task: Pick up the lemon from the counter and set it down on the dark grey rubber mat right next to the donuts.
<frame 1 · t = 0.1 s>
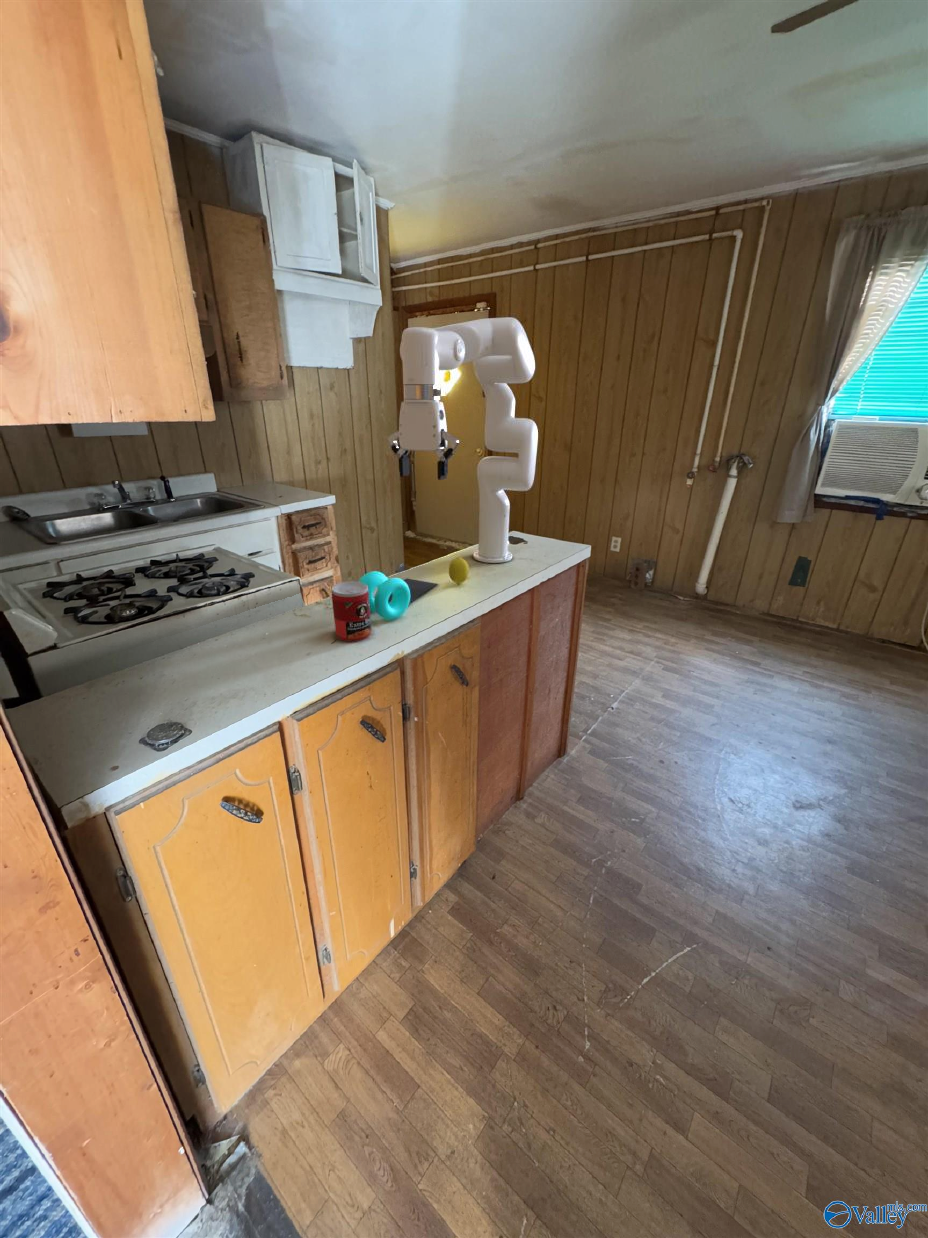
hand: (423, 477, 114), 31 cm above the worktop, tool pointing down, fingers open, 9 cm apart
lemon: (458, 585, 140), on the worktop
canned food: (353, 635, 110), on the worktop
donuts: (384, 615, 120), on the worktop
mat: (405, 592, 134), on the worktop
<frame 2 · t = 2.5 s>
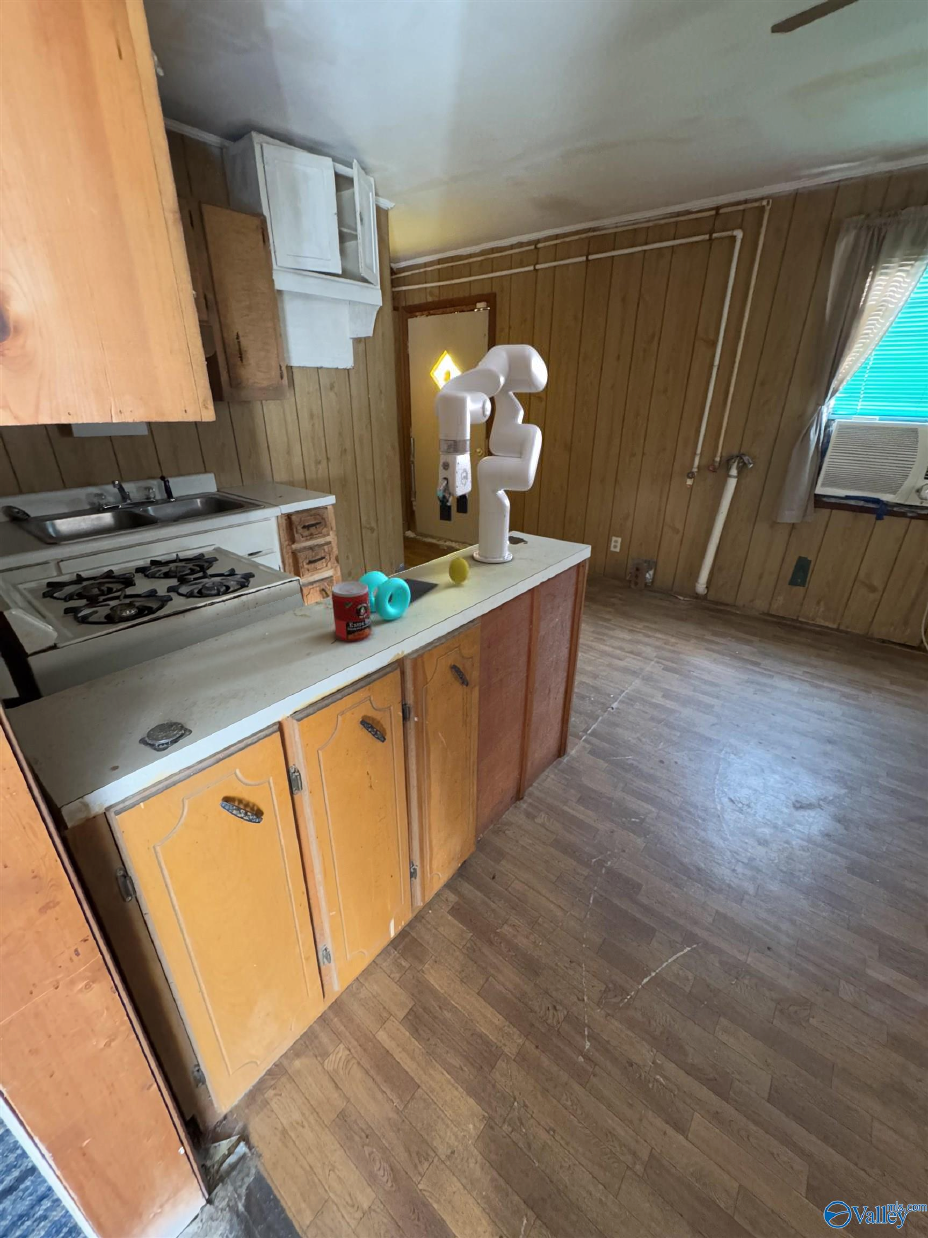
hand: (454, 516, 130), 20 cm above the worktop, tool pointing down, fingers open, 9 cm apart
nothing on the worktop moved.
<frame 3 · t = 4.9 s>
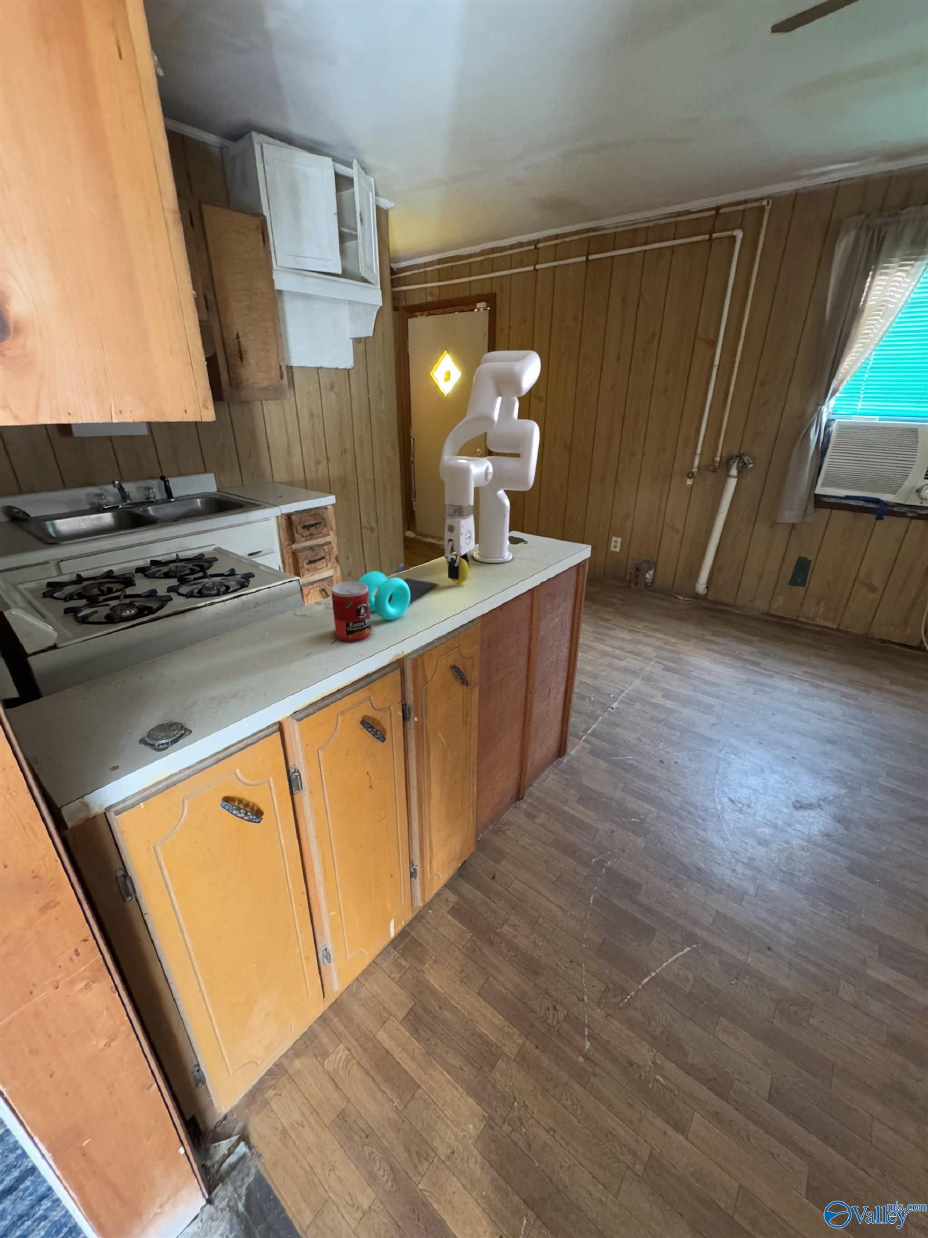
hand: (458, 574, 139), 3 cm above the worktop, tool pointing down, fingers closed on lemon, 5 cm apart
lemon: (458, 585, 140), on the worktop, touching gripper
everything else where it was.
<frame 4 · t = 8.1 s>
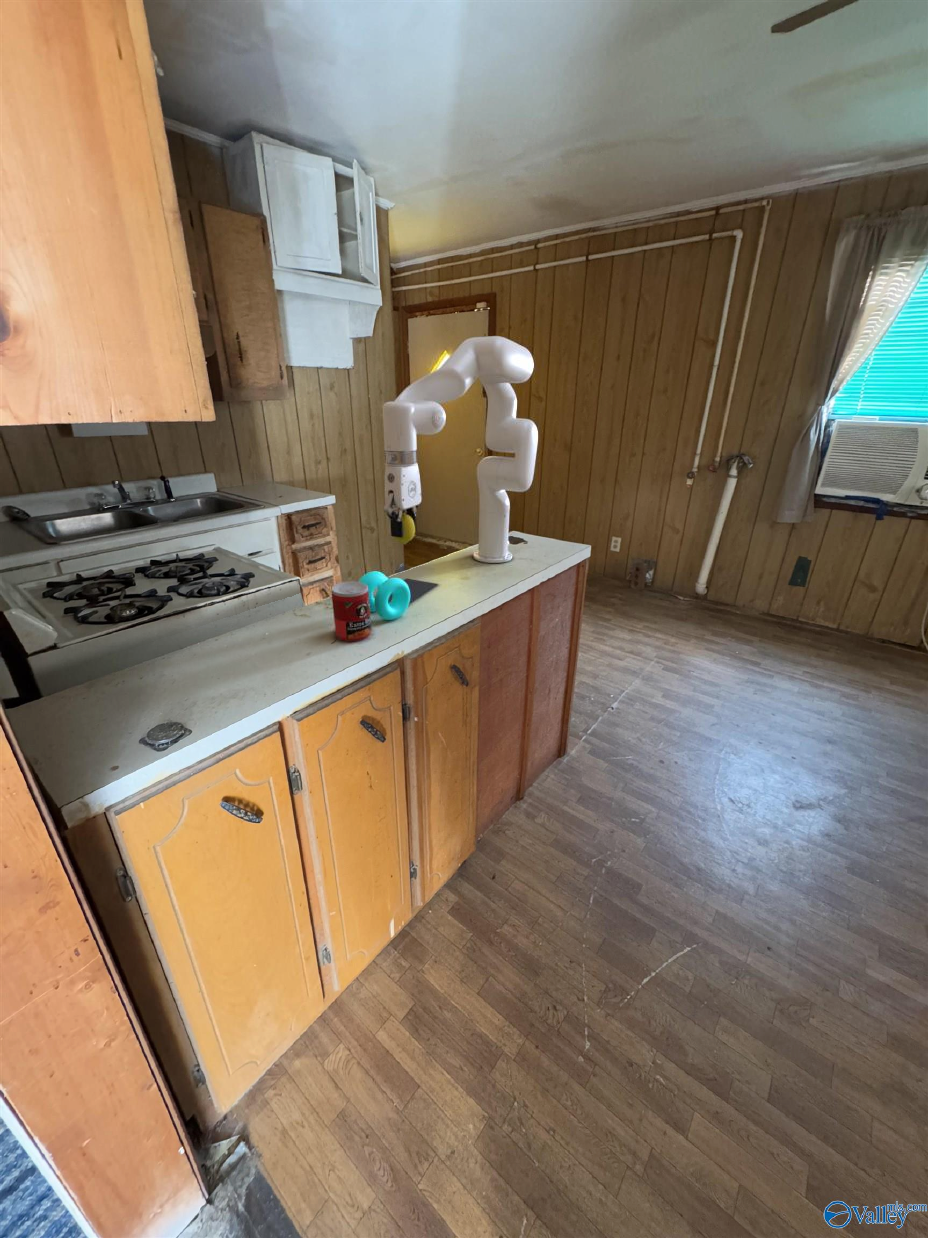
hand: (403, 533, 125), 17 cm above the worktop, tool pointing down, fingers closed on lemon, 5 cm apart
lemon: (404, 545, 127), point 14 cm above the worktop, touching gripper
everything else where it was.
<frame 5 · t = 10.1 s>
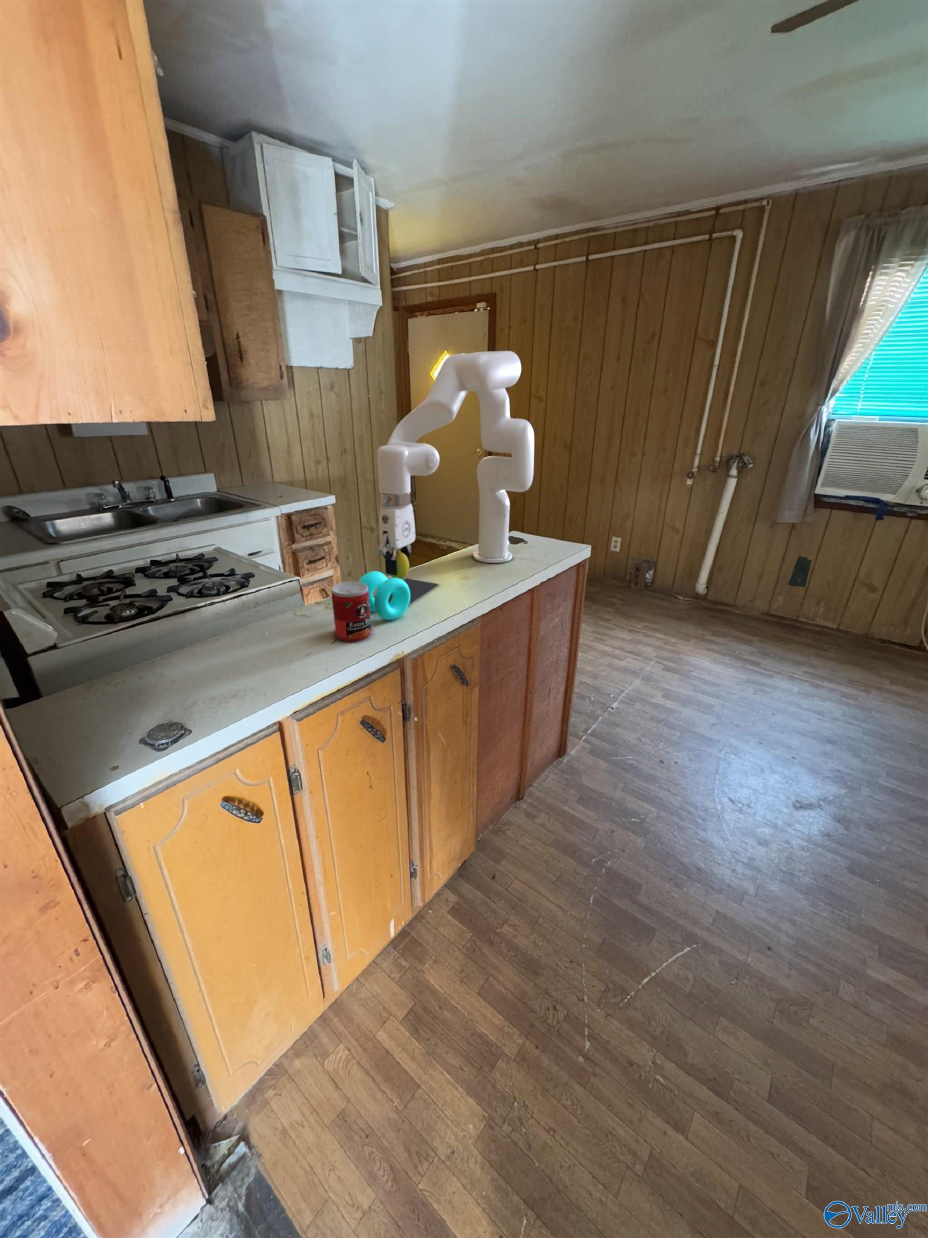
hand: (398, 570, 128), 7 cm above the worktop, tool pointing down, fingers closed on lemon, 5 cm apart
lemon: (398, 581, 130), point 4 cm above the worktop, touching gripper
everything else where it was.
when the fingers open (3 cm above the worktop, at t = 11.6 s): lemon stays where it is, resting on mat.
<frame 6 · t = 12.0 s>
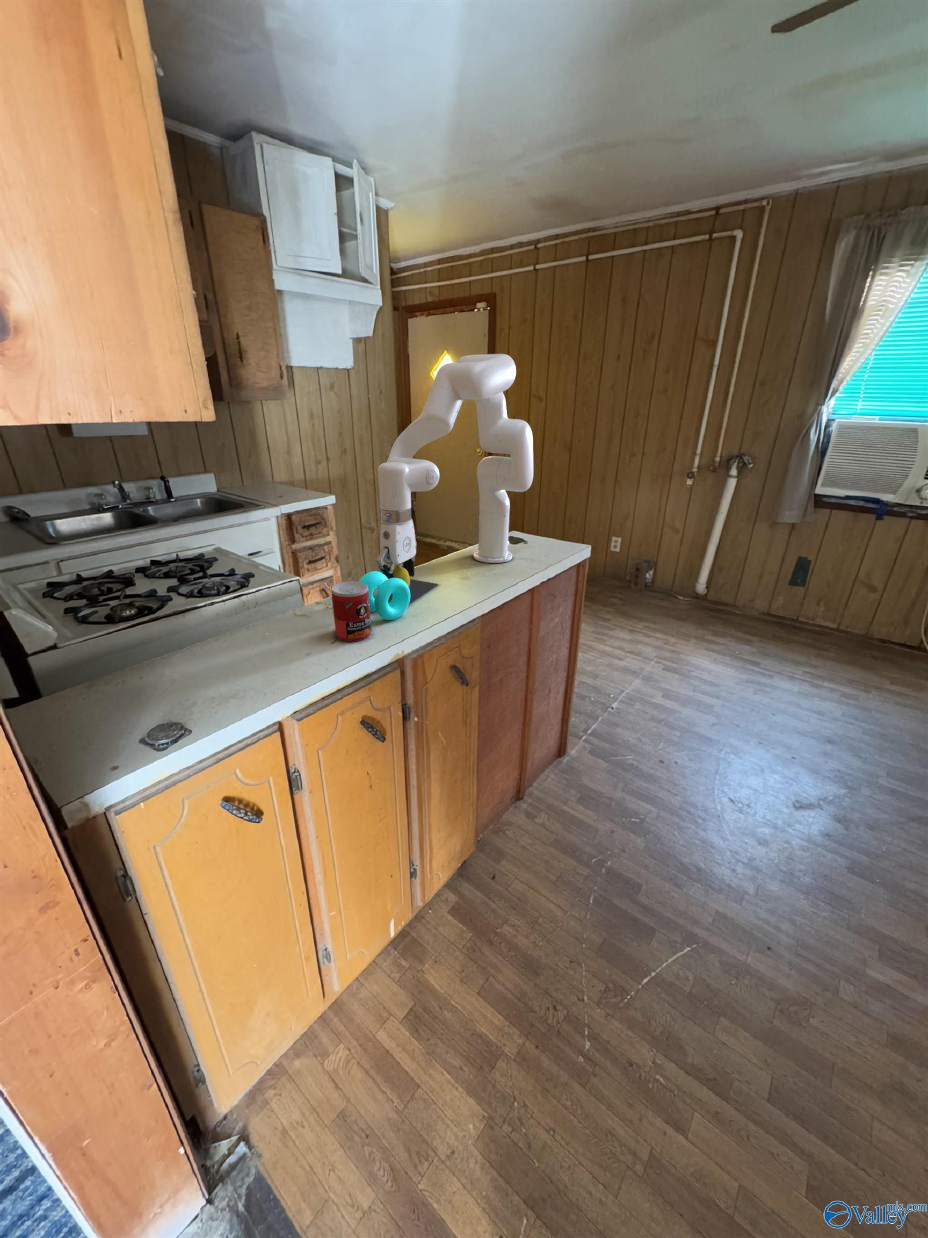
hand: (399, 581, 130), 4 cm above the worktop, tool pointing down, fingers open, 9 cm apart
lemon: (399, 595, 131), resting on mat
donuts: (384, 615, 120), on the worktop, touching gripper
everything else where it was.
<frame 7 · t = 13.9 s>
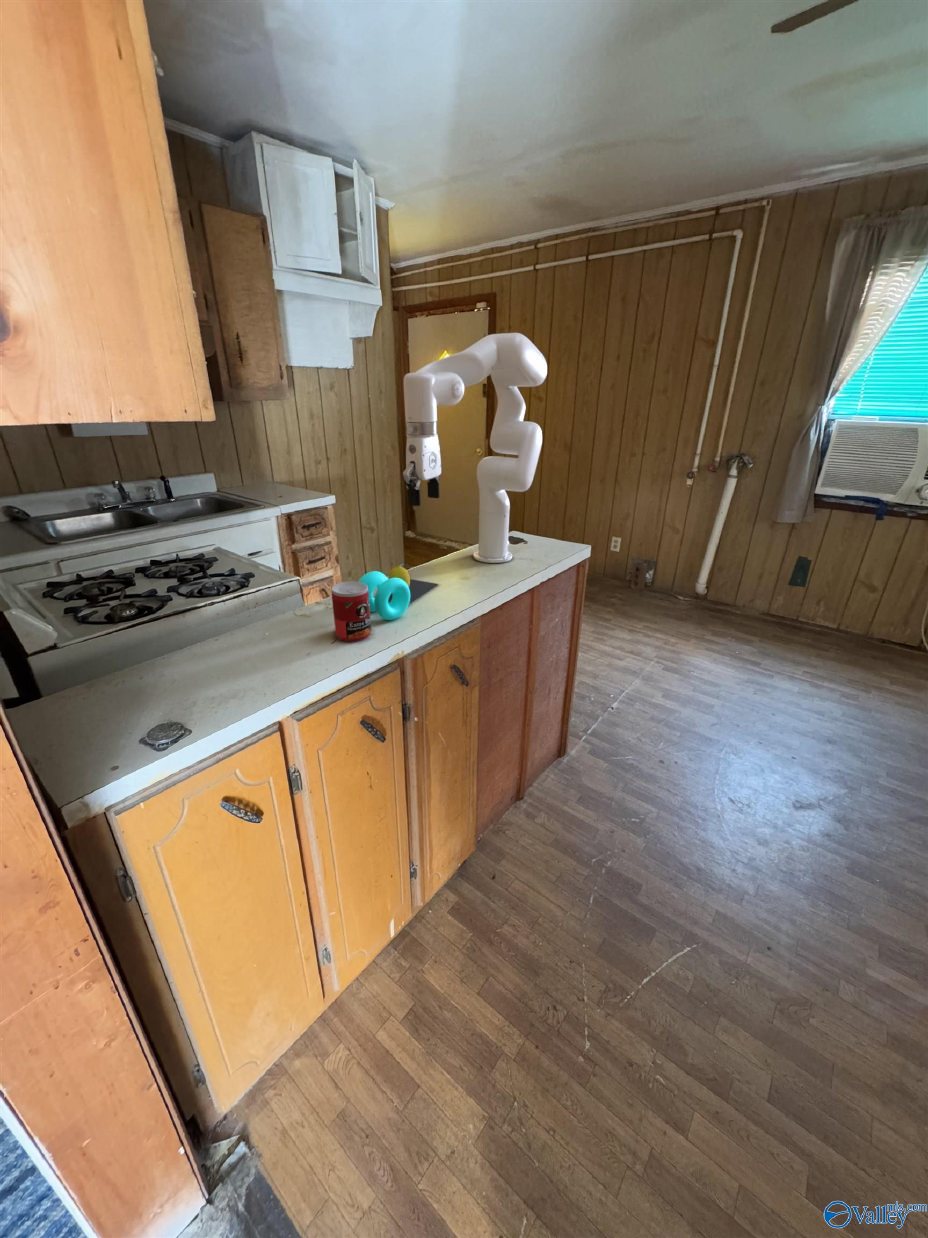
hand: (424, 501, 128), 24 cm above the worktop, tool pointing down, fingers open, 9 cm apart
donuts: (384, 615, 120), on the worktop
everything else where it was.
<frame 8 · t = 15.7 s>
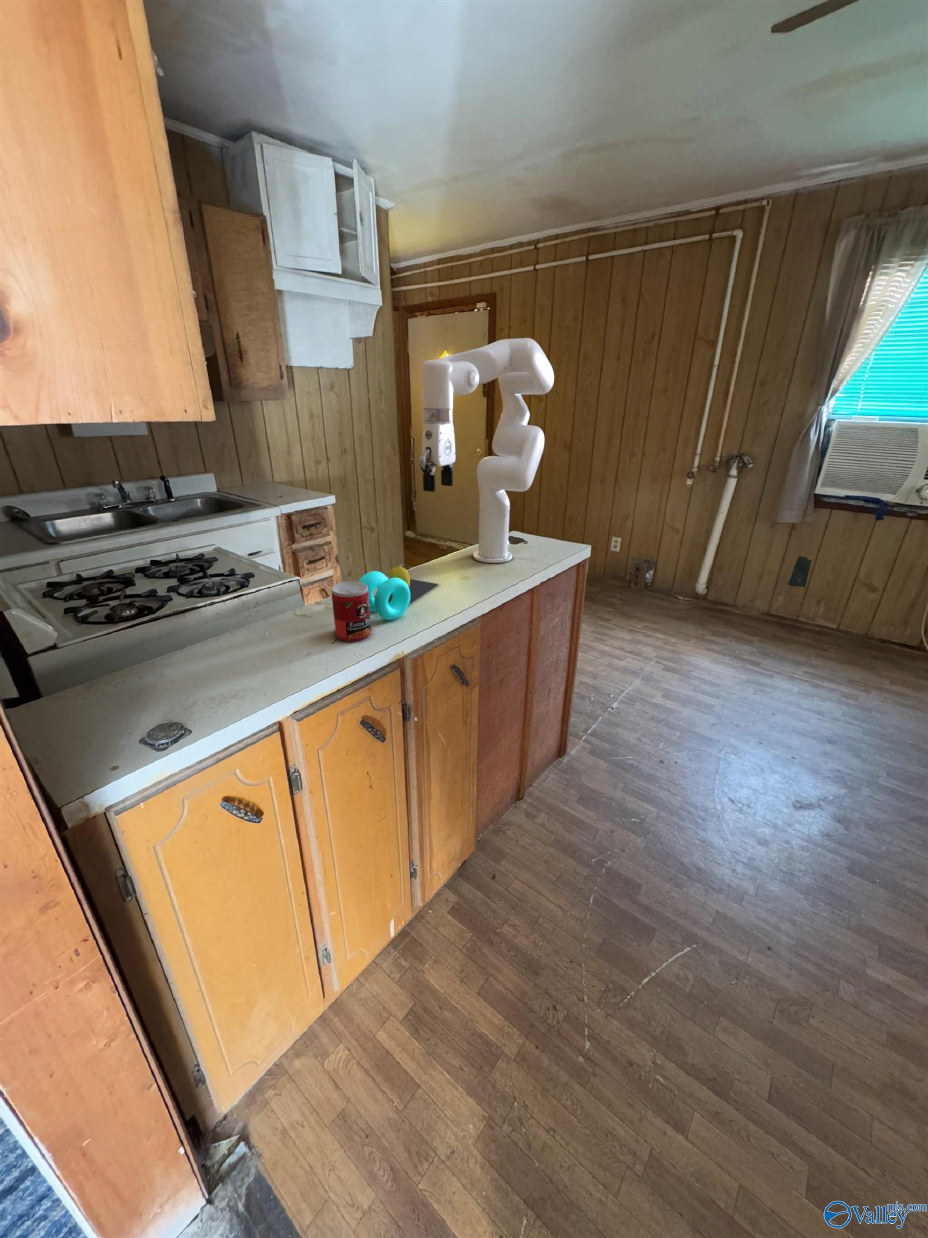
hand: (438, 488, 129), 26 cm above the worktop, tool pointing down, fingers open, 9 cm apart
nothing on the worktop moved.
at the end: lemon 12.4 cm from the donuts (horizontally); lemon inside the target area (0.9 cm from its centre), resting on mat; the gripper is holding nothing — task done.
